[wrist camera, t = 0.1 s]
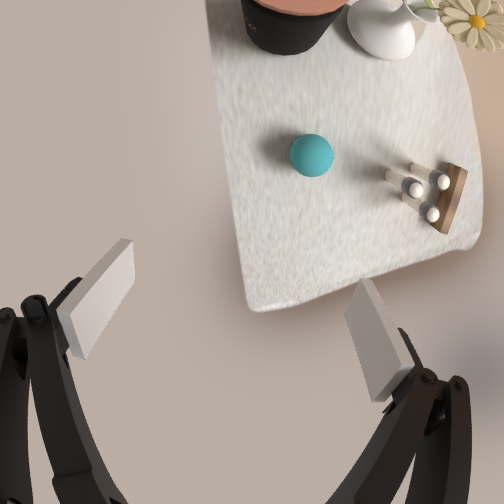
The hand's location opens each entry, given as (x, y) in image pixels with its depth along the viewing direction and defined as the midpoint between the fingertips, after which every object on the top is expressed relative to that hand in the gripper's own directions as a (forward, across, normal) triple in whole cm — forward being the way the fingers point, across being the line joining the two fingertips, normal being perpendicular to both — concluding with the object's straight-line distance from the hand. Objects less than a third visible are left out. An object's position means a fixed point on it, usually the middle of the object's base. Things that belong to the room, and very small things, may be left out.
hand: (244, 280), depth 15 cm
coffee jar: (+28, 0, +24) cm, 37 cm away
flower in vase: (+28, +15, +28) cm, 42 cm away
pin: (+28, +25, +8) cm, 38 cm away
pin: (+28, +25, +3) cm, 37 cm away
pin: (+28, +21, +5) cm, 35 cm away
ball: (+25, +7, +5) cm, 26 cm away
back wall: (+28, +33, +5) cm, 44 cm away
